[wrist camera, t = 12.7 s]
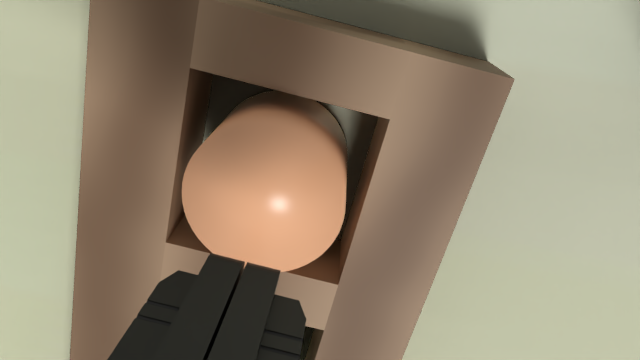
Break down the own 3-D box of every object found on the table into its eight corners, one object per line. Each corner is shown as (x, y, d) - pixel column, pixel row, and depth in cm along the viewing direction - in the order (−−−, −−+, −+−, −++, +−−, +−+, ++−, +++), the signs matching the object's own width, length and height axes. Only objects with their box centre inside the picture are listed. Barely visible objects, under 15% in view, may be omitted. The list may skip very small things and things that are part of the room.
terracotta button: (363, 110, 17) (365, 147, 14) (329, 228, 19) (323, 288, 15) (228, 75, 17) (193, 103, 13) (207, 197, 19) (172, 251, 15)
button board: (488, 61, 17) (514, 78, 14) (309, 536, 27) (304, 600, 24) (136, -32, 16) (91, -33, 13) (90, 485, 26) (59, 545, 24)
